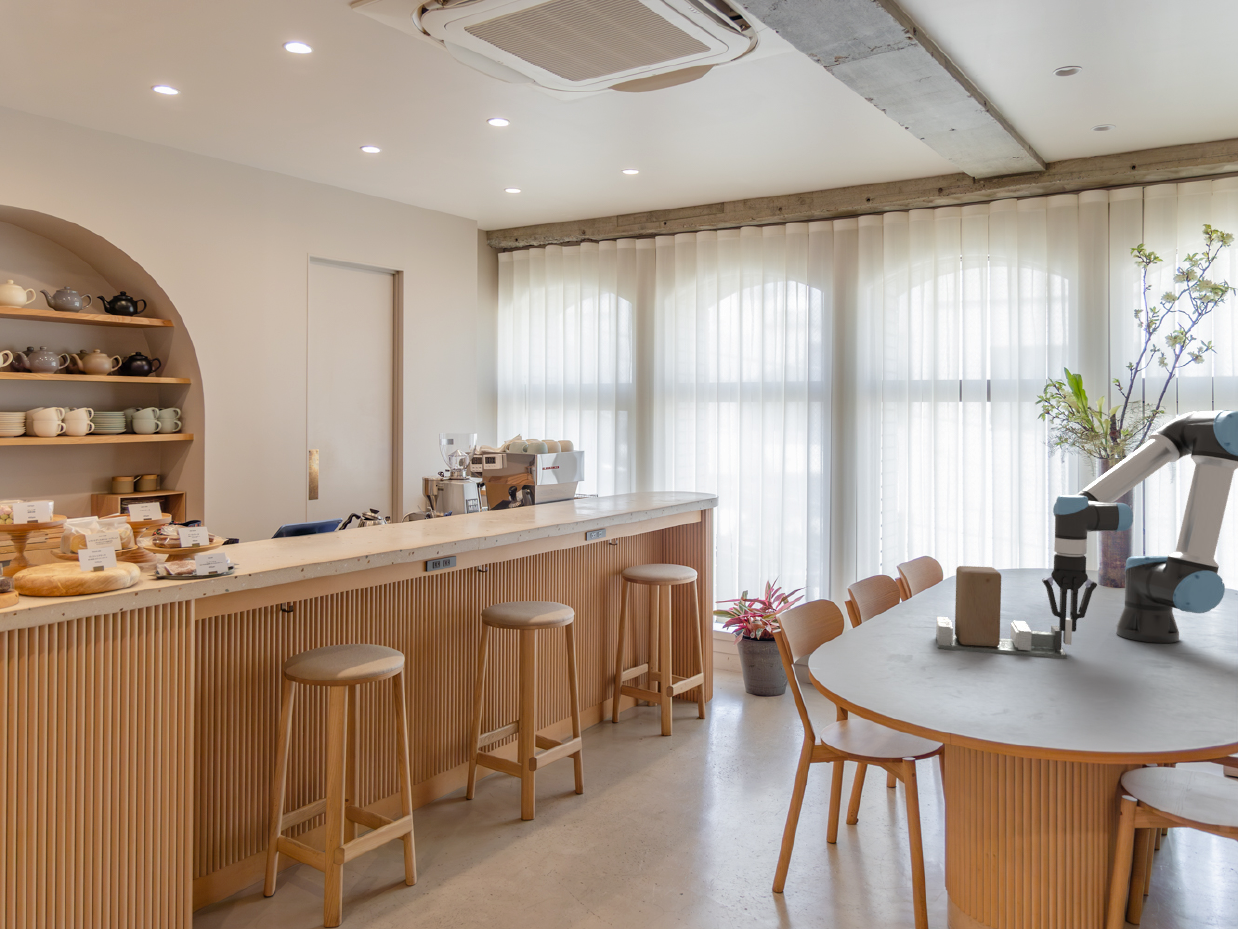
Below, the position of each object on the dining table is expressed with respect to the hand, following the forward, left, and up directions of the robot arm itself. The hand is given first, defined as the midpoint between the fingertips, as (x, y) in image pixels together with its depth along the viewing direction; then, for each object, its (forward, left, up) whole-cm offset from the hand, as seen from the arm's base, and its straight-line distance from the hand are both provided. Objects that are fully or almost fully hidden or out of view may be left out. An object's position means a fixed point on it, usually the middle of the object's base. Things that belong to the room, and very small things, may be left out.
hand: (1067, 643), depth 229 cm
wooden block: (+22, 0, -2) cm, 22 cm away
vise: (+17, 0, -3) cm, 17 cm away
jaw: (+7, 0, -1) cm, 8 cm away
